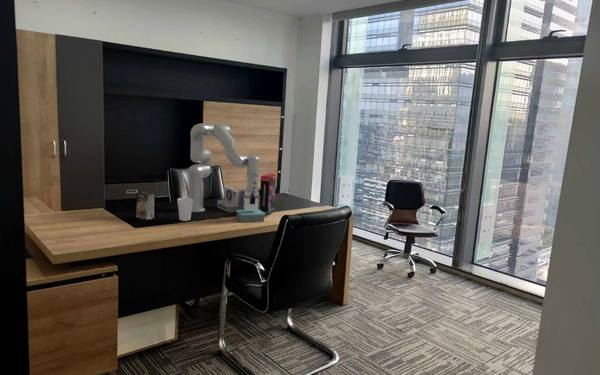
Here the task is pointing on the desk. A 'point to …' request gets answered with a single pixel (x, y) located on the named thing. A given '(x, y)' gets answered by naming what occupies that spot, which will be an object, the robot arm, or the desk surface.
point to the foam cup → (185, 208)
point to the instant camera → (231, 200)
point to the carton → (247, 202)
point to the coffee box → (145, 205)
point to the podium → (250, 216)
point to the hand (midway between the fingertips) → (251, 202)
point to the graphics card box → (267, 193)
